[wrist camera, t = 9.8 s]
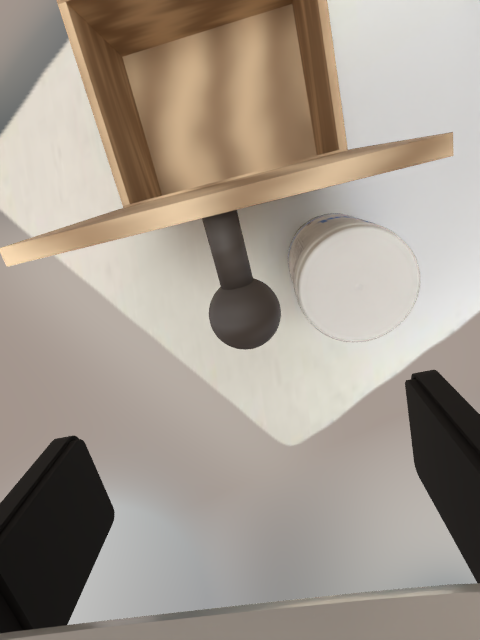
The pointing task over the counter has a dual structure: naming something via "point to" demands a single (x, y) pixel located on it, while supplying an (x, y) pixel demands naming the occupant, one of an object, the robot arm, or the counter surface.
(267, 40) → the wooden box
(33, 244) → the lid
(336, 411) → the counter surface
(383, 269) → the supplement tub
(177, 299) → the counter surface
